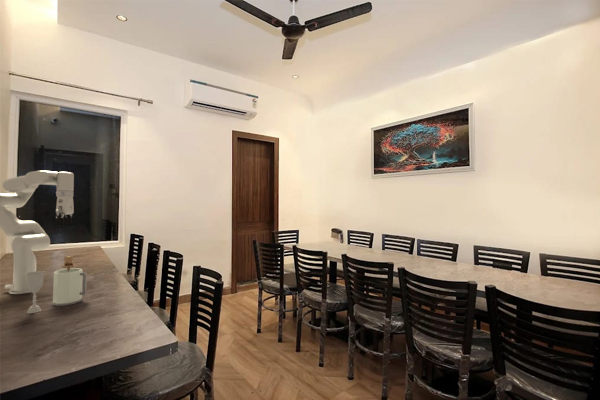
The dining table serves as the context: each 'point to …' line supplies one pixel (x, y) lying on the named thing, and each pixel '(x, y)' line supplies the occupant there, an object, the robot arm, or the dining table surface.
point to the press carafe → (68, 286)
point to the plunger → (68, 263)
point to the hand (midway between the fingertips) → (64, 224)
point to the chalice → (34, 287)
